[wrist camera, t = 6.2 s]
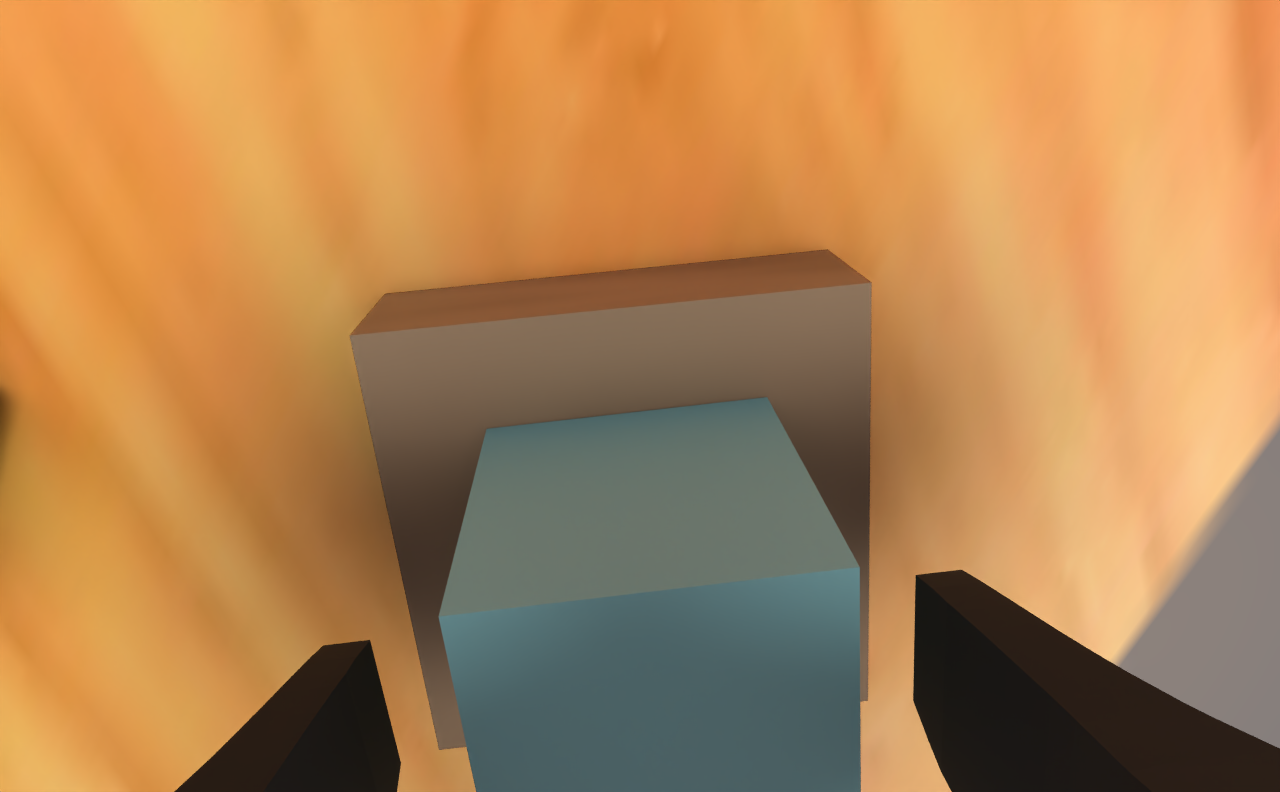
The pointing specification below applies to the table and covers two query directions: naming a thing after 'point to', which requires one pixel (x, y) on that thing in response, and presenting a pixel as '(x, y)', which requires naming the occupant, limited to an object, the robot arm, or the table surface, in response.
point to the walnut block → (607, 391)
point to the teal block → (654, 609)
